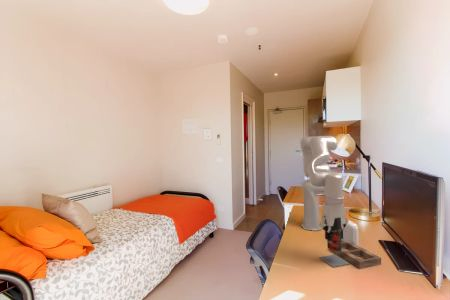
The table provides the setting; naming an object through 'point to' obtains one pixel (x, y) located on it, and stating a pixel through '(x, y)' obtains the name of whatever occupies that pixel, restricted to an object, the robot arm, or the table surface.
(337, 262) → the mat
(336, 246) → the deodorant
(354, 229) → the photo printer
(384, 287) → the table surface
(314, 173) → the robot arm
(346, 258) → the well board
